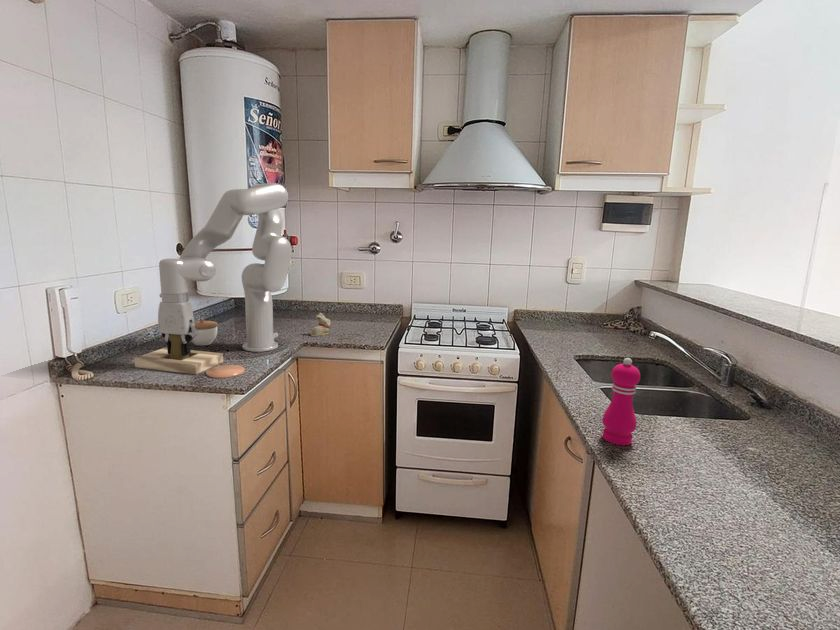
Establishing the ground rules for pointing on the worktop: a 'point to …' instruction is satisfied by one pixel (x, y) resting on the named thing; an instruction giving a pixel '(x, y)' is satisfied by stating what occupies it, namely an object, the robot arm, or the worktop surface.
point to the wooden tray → (179, 361)
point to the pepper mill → (621, 405)
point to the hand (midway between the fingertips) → (179, 353)
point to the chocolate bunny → (321, 325)
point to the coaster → (225, 371)
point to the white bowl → (205, 332)
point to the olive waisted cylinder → (176, 347)
